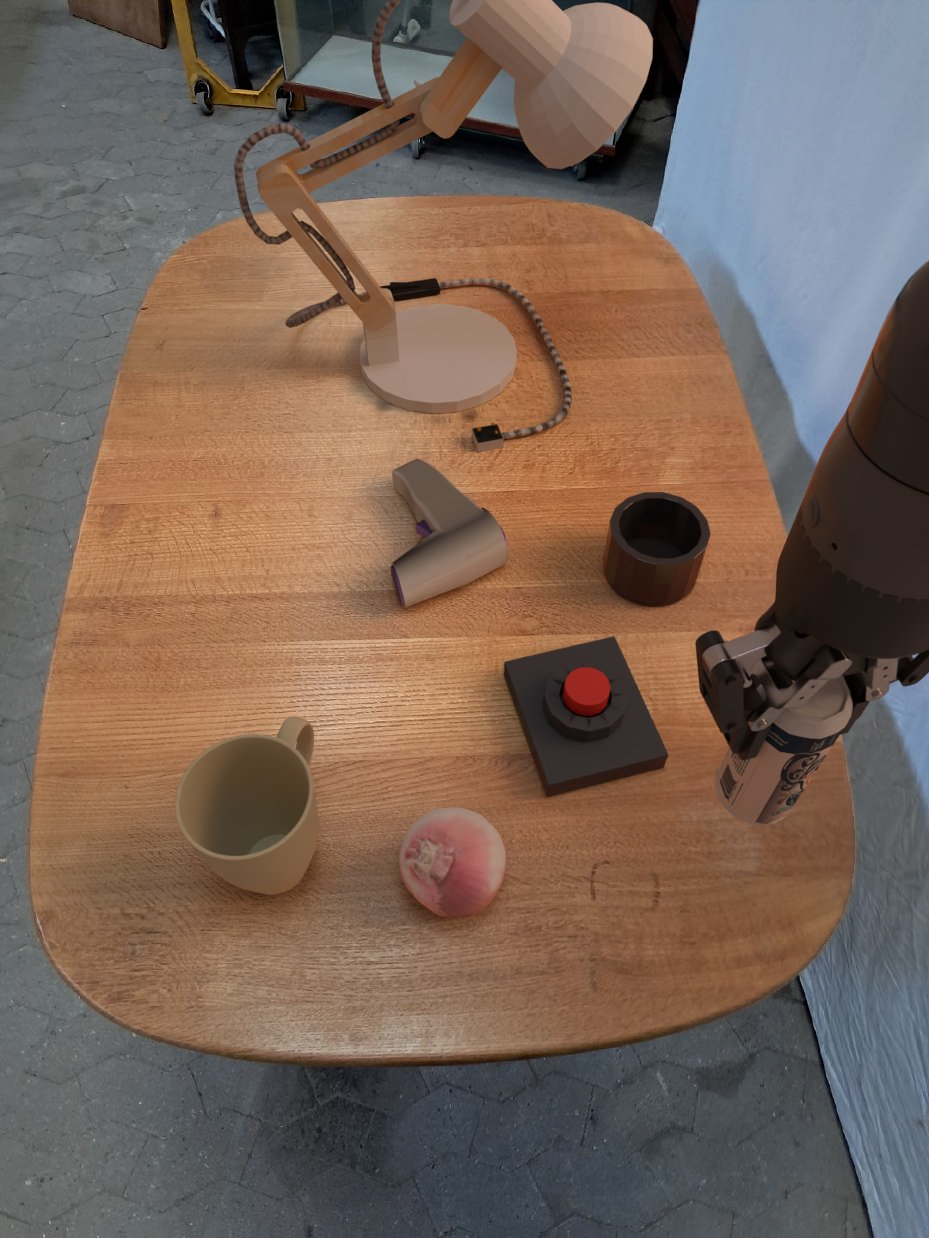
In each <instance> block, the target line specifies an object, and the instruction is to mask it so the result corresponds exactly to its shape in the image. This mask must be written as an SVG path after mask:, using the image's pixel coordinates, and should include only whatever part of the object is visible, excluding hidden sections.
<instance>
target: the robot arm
mask: <svg viewBox="0 0 929 1238" xmlns="http://www.w3.org/2000/svg"><path fill="white" fill-rule="evenodd" d="M694 644H695V654H696V664H697V665H696V667H697V675H698V686H699V687H698V688H699V693H700V694H701V697H702V698H703V701H704V702H705V704H706V706H707V708H708V710H709V712H710V714H711V716H712V718H713V720H714V722H715V724H716V726H717V728H718V730H719V732H720V733H721V734H722V735H723V738H724V740H725V741H726V743H727V745H728V747H729V748H730V749H731V751H732V753H733V754H738V756H739V757H740V759H741V760H743V761H744V760H747V759H751V758H755V757H756V756H757V755H758V753H759V751H760V749H761V747H762V745H763V743H764V741H765V739H766V737H767V735H768V733H769V731H770V729H771V727H772V725H771V724H772V723H773V722H774V721H775V720H776V719H777V718H778V717H779V716H780V715H781V714H782V713H783V712H784V711H785V710H786V709H799V708H801V707H802V706H803V705H804V704H805V703H806V702H807V701H808V700H809V699H810V698H811V697H812V696H814V695H815V694H816V693H817V692H818V691H819V690H820V689H821V688H822V687H823V686H824V685H825V684H826V683H827V682H828V681H829V680H830V679H837V678H839V677H840V676H842V675H843V677H844V679H845V682H846V684H847V686H848V688H849V691H850V695H851V698H852V704H853V708H852V714H851V717H850V719H849V721H848V723H847V725H846V726H845V727H844V729H843V730H842V732H841V733H840V735H839V736H841V735H845V734H848V733H849V732H850V730H851V729H852V727H853V726H854V724H855V722H856V721H857V720H858V719H859V718H861V716H862V714H863V713H864V712H865V710H866V709H867V707H868V706H869V704H870V702H873V701H874V702H875V701H876V700H879V699H881V698H883V697H884V696H885V695H887V694H888V692H889V691H890V685H891V684H893V683H895V682H897V681H898V682H899V683H900V685H901V686H903V687H904V688H905V687H910V686H913V685H916V684H918V683H919V682H920V681H922V680H923V679H924V678H925V677H926V676H927V675H928V674H929V259H928V260H927V261H926V262H923V264H921V265H920V266H919V267H918V268H917V269H916V270H915V271H914V272H913V273H912V274H911V275H910V276H909V278H908V279H907V280H906V281H905V282H904V284H903V286H901V289H900V291H899V292H898V294H897V296H896V297H895V300H894V301H893V302H892V304H891V306H890V308H889V310H888V312H887V314H886V316H885V318H884V320H883V322H882V325H881V327H880V329H879V331H878V335H877V336H876V339H875V341H874V344H873V346H872V348H871V351H870V354H869V356H868V359H867V361H866V363H865V365H864V368H863V370H862V373H861V376H860V378H859V380H858V382H857V385H856V387H855V390H854V392H853V395H852V397H851V400H850V402H849V403H848V406H847V407H846V409H845V412H844V414H843V415H842V417H841V418H840V420H839V421H838V422H837V424H836V426H835V427H834V429H833V431H832V433H831V434H830V436H829V438H828V440H827V441H826V443H825V445H824V448H823V450H822V452H821V454H820V456H819V458H818V461H817V463H816V465H815V469H814V471H813V473H812V476H811V479H810V480H809V483H808V486H807V488H806V491H805V493H804V496H803V498H802V500H801V504H800V506H799V508H798V510H797V513H796V515H795V517H794V520H793V522H792V524H791V527H790V530H789V532H788V535H787V537H786V540H785V542H784V545H783V546H782V549H781V552H780V555H779V557H778V561H777V565H776V575H775V597H774V601H773V603H772V604H771V606H770V607H769V608H768V609H767V610H766V611H765V612H764V613H763V614H761V616H760V617H759V618H758V619H757V621H756V623H755V627H754V631H752V632H749V633H746V634H744V635H741V636H739V637H736V638H733V639H731V640H725V639H724V638H723V636H722V634H721V632H720V631H718V630H716V629H715V630H709V631H705V632H704V633H702V634H700V635H699V636H698V637H697V638H696V640H695V642H694ZM913 656H915V657H913ZM792 680H793V681H795V682H794V683H793V681H792ZM761 684H762V686H763V688H764V690H765V691H766V695H767V697H766V700H765V701H763V699H762V697H761V696H760V694H759V692H758V690H757V688H758V687H759V686H760V685H761Z"/></svg>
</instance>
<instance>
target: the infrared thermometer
mask: <svg viewBox="0 0 929 1238" xmlns="http://www.w3.org/2000/svg"><path fill="white" fill-rule="evenodd" d="M391 477H392V485H393V490H394V491H395V492H396V493H398V494H399V495H401V496H402V497H403V498H404V500H405V501H406V503H407V504H408V506H409V508H410V510H411V512H412V514H413V516H414V518H415V520H416V521H417V523H416V524H415V533H416V535H418V536H421V537H422V538H423V539H422V540H420V541H419V542H418V543H416V544H415V545H414V546H413V547H411V548H410V549H408V550H407V551H406V552H405V553H403V554H402V555H401V556H399V557H397V558H396V559H395V560H394V561H393V562H392V564H391V565H390V572H391V579H392V582H393V586H394V590H395V593H396V597H397V600H398V603H399V605H400V607H402V608H408V607H411V606H413V605H416V604H418V603H420V602H424V601H426V600H429V599H432V598H434V597H437V596H439V595H442V594H445V593H447V592H450V591H452V590H456V589H457V588H461V587H463V586H467V585H469V584H470V583H472V582H474V581H476V580H478V579H479V578H482V577H483V576H485V575H487V574H489V573H491V572H493V571H495V570H497V569H499V568H500V567H502V566H504V565H505V564H506V563H507V562H508V558H509V546H508V540H507V536H506V534H505V532H504V529H503V528H502V526H501V524H500V523H499V522H498V521H497V519H496V518H495V517H494V515H493V514H492V513H491V512H490V511H489V510H488V509H486V508H485V507H480V506H478V504H476V503H475V502H474V501H473V499H471V498H470V497H469V496H467V495H466V494H465V493H463V492H462V491H461V490H459V489H458V488H457V487H456V486H455V484H453V483H452V481H450V480H449V478H447V477H446V476H445V475H444V473H442V472H441V471H440V470H439V469H438V468H436V467H435V466H433V465H431V464H430V463H429V462H426V461H425V460H423V459H420V458H416V459H413V460H411V461H409V462H406V463H404V464H402V465H400V466H398V467H396V468H393V470H391Z"/></svg>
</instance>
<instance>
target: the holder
mask: <svg viewBox="0 0 929 1238" xmlns="http://www.w3.org/2000/svg"><path fill="white" fill-rule="evenodd" d="M710 538H711V529H710V525H709V521H708V519H707V518H706V516H705V515H704V514H703V512H702V511H701V510H700V508H699V507H698V506H697V505H695V504H693V503H692V502H690V501H689V500H687V499H686V498H684V497H683V496H679V495H676V494H672V493H668V492H665V491H643V492H641V493H637V494H633V495H631V496H628V497H626V498H625V499H624V500H622V501H621V502H620V503H619V504H617V506H615V507H614V509H613V512H612V514H611V517H610V519H609V523H608V529H607V534H606V539H605V545H604V551H603V556H602V572H603V576H604V578H605V581H606V583H607V584H608V586H609V587H610V588H611V589H612V591H613V592H615V593H616V594H617V595H618V596H620V598H623V599H624V600H625V601H628V602H630V603H633V604H636V605H638V606H644V607H650V608H651V607H653V608H658V607H659V608H660V607H665V606H667V607H668V606H670V605H673V604H676V603H679V602H680V601H682V600H683V599H685V598H686V597H688V595H689V594H690V593H691V592H692V591H693V589H694V588H695V586H696V583H697V579H698V576H699V574H700V573H699V572H700V570H701V567H702V565H703V564H702V563H703V561H704V557H705V555H706V551H707V548H708V545H709V542H710Z"/></svg>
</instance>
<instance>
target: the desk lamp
mask: <svg viewBox="0 0 929 1238" xmlns="http://www.w3.org/2000/svg"><path fill="white" fill-rule="evenodd" d="M401 1H402V0H387V1H386V2H385V3H384V5H383V7H382V9H381V11H380V13H379V16H378V17H377V19H376V22H375V25H374V29H373V34H372V38H371V62H372V63H371V64H372V70H373V76H374V79H375V83H376V87H377V89H378V92H379V95H380V97H381V101H382V102H383V103H382V104H380V105H378V106H377V107H374V108H372V109H370V110H368V111H366V112H365V113H363V114H361V115H358V116H357V117H355V118H352V119H351V120H348V121H346V122H345V123H343V124H341V125H339V126H337V127H335V128H333V129H331V130H329V131H326V132H325V133H323V134H321V135H319V136H317V137H315V138H313V139H312V140H309V141H307V139H306V138H305V136H304V135H303V133H302V132H301V131H300V130H299V129H298V128H296V127H294V126H291V125H290V124H288V123H279V124H268V125H266V126H265V127H263V128H261V129H259V130H257V131H256V132H253V133H252V134H250V136H249V137H248V138H247V139H246V140H245V141H244V142H243V143H242V144H241V145H240V146H239V148H238V149H237V154H236V156H235V159H234V163H233V173H234V181H235V186H236V192H237V195H238V196H237V197H238V201H239V204H240V205H239V206H240V209H241V212H242V214H243V217H244V219H245V222H246V224H247V225H248V226H249V228H250V229H251V231H252V232H253V234H254V235H255V236H256V237H257V238H258V239H260V240H261V241H263V242H264V243H265V244H267V245H281V244H283V243H285V242H287V241H289V240H291V239H292V238H293V239H294V240H295V242H296V243H297V244H298V245H299V247H300V248H301V249H302V250H303V252H304V253H305V254H306V255H307V256H308V257H309V259H310V260H311V261H312V263H313V264H314V265H315V266H316V267H317V269H318V270H319V271H320V272H321V274H322V275H323V276H324V277H325V278H326V280H327V281H328V282H329V283H330V285H331V286H332V287H333V288H334V289H335V290H336V293H335V294H333V295H332V296H331V297H329V298H328V299H326V300H324V301H321V302H317V303H314V304H312V305H308V306H307V307H304V308H302V309H300V310H298V311H296V312H294V313H292V314H291V315H289V317H288V318H287V319H286V320H285V323H284V324H285V326H286V327H287V328H289V329H291V328H297V327H299V326H301V325H303V324H305V323H307V322H308V321H310V320H312V319H314V318H315V317H317V316H319V315H321V314H322V313H323V312H325V311H327V310H329V309H331V307H335V306H340V305H345V304H346V305H348V307H349V308H350V309H351V310H352V312H353V313H354V315H356V316H357V317H358V319H359V320H360V321H361V322H362V328H363V337H364V338H363V341H362V342H361V344H360V347H359V363H360V364H359V365H360V373H361V376H362V378H363V380H364V381H365V383H366V384H367V386H368V388H369V390H371V391H372V392H373V393H374V394H376V395H377V396H378V397H379V398H381V400H383V401H384V402H386V403H389V404H391V405H393V406H396V407H399V408H401V409H403V410H406V411H411V412H419V413H424V414H425V413H426V414H448V413H458V412H463V411H466V410H469V409H473V408H476V407H480V406H482V405H484V404H485V403H487V402H489V401H490V400H492V399H494V398H495V397H497V396H499V395H501V393H502V392H503V391H504V390H505V388H507V386H508V385H509V384H510V383H511V382H512V381H513V379H514V375H515V371H516V368H517V366H518V350H517V346H516V340H515V337H514V336H513V334H512V333H511V331H510V330H509V328H507V326H506V325H505V324H504V323H502V322H501V321H500V320H498V319H496V318H495V317H493V316H492V315H490V314H489V313H486V312H485V311H481V310H478V309H475V308H472V307H470V306H465V305H457V304H450V303H434V304H433V303H432V304H420V305H417V306H413V307H408V308H405V309H401V310H397V311H396V302H397V301H405V300H410V299H416V298H417V299H418V298H422V297H423V298H424V297H429V296H435V295H440V294H441V289H442V290H443V289H448V288H455V287H463V286H464V287H465V286H472V285H474V286H475V285H476V286H478V285H479V286H492V287H495V288H499V289H501V290H505V291H507V292H508V293H509V294H511V295H512V296H514V297H515V298H516V299H518V300H519V301H520V303H521V304H522V305H523V306H524V307H525V309H527V311H528V313H529V314H530V316H531V317H532V320H533V321H534V323H535V324H536V326H537V328H538V330H539V332H540V335H541V336H542V339H543V340H544V342H545V345H546V346H547V348H548V350H549V353H550V354H551V357H552V359H553V361H554V363H555V366H556V368H557V370H558V372H559V377H560V378H561V382H562V384H563V393H564V401H563V404H562V406H561V410H560V411H559V412H558V413H557V414H555V416H554V417H552V418H551V419H549V420H547V421H545V422H542V423H539V424H537V425H533V426H529V427H525V428H520V429H515V430H508V431H503V432H501V429H500V426H499V425H498V423H495V422H491V424H490V425H484V426H477V427H473V428H471V437H472V438H471V439H472V441H473V443H474V446H475V449H476V452H477V453H481V452H487V451H493V450H498V449H503V448H504V441H505V440H509V439H515V438H519V437H524V436H530V435H534V434H537V433H540V432H542V431H545V430H548V429H551V428H553V427H555V426H556V425H558V423H560V422H561V421H562V420H563V419H564V418H565V417H566V416H567V415H568V413H569V411H570V407H571V403H572V386H571V382H570V380H569V376H568V372H567V370H566V367H565V365H564V363H563V361H562V358H561V356H560V354H559V352H558V350H557V348H556V346H555V344H554V342H553V340H552V337H551V335H550V334H549V331H548V330H547V328H546V326H545V324H544V322H543V320H542V318H541V317H540V315H539V313H538V312H537V310H536V308H535V307H534V305H533V304H532V303H531V302H530V301H529V299H527V297H526V296H525V295H524V294H523V293H522V292H521V291H519V290H518V289H516V288H515V287H514V286H512V285H510V284H509V283H506V282H503V281H501V280H497V279H493V278H483V277H481V278H478V277H470V278H462V279H453V280H446V281H438V278H437V277H432V278H426V279H420V280H413V281H412V280H411V281H390V282H389V284H386V285H379V283H378V282H377V281H376V280H375V278H374V277H373V276H372V274H371V273H370V271H368V269H367V268H366V266H365V265H364V264H363V262H362V261H361V260H360V258H359V257H358V256H357V255H356V253H355V252H354V250H353V249H352V248H351V247H350V245H349V244H348V243H347V242H346V240H345V239H344V238H343V236H342V235H341V233H340V232H339V231H338V229H336V226H334V225H333V223H332V222H331V220H330V219H329V218H328V217H327V215H326V214H325V213H324V211H323V209H321V208H320V206H319V205H318V203H317V202H316V200H315V199H314V198H313V196H312V195H311V193H313V192H314V191H316V190H318V189H321V188H323V187H324V186H327V185H328V184H330V183H332V182H335V181H336V180H339V179H340V178H343V177H344V176H346V175H349V174H351V173H353V172H354V171H357V170H359V169H361V168H362V167H365V166H367V165H368V164H371V163H373V162H374V161H377V160H379V159H381V158H383V157H385V156H386V155H389V154H390V153H393V152H394V151H397V150H399V149H400V148H403V147H405V146H407V145H408V144H410V143H412V142H415V141H416V140H417V141H418V140H419V139H421V138H423V137H424V136H427V135H429V134H431V133H432V132H433V133H435V134H436V135H437V136H438V137H440V138H442V139H445V140H446V139H449V138H451V137H453V136H454V135H455V133H456V132H457V131H458V129H459V128H460V126H462V124H463V122H464V121H465V120H466V118H467V117H468V115H469V114H470V113H471V111H472V110H473V109H474V107H475V106H476V105H477V103H478V102H479V101H480V99H481V98H482V96H483V95H484V94H485V93H486V91H487V90H488V88H489V87H490V86H491V84H492V83H493V82H494V81H495V79H496V78H497V76H498V75H499V73H500V72H501V71H502V70H503V71H504V72H506V74H508V75H509V76H510V77H511V78H512V79H513V80H514V84H513V85H514V86H513V97H512V98H513V100H512V101H513V111H514V115H515V119H516V123H517V127H518V130H519V133H520V136H521V139H522V140H523V142H524V144H525V146H526V147H527V148H528V151H530V153H531V154H532V155H533V156H534V158H536V159H537V160H538V161H539V162H540V163H542V164H543V166H545V167H546V169H557V170H563V169H565V168H568V167H571V166H574V165H578V164H579V163H581V162H582V161H584V160H585V159H587V158H588V157H590V156H591V155H592V154H594V153H596V152H598V151H599V149H600V148H601V147H602V146H603V145H605V143H606V142H607V141H608V140H609V139H610V138H611V137H612V136H613V135H614V134H615V133H616V132H617V131H618V129H619V128H620V127H621V126H622V124H623V122H624V121H625V120H626V118H627V117H628V115H629V114H630V113H631V111H632V110H633V109H634V107H635V105H636V104H637V101H638V98H639V97H640V94H641V93H642V91H643V88H645V86H646V85H645V84H646V82H647V80H648V76H649V72H650V69H651V68H650V67H651V65H652V61H653V52H654V51H653V49H654V45H653V44H654V38H653V36H652V34H651V31H650V29H649V27H648V25H647V24H646V23H645V22H644V21H643V20H642V19H641V18H640V17H639V16H637V15H635V14H633V13H631V12H630V11H628V10H626V9H624V8H622V7H620V6H618V5H615V4H612V3H609V2H590V3H582V4H577V5H574V6H571V7H569V8H566V9H564V10H562V9H561V7H560V6H558V5H557V4H556V3H555V2H554V1H553V0H452V1H451V5H450V7H449V14H448V15H449V16H448V17H449V22H450V24H451V25H452V26H453V27H454V28H456V29H457V30H458V31H459V32H460V33H461V34H462V35H463V36H465V37H466V38H465V40H463V43H462V44H461V45H460V47H459V49H458V50H457V51H456V53H455V54H454V55H453V57H452V58H451V60H450V61H449V63H448V64H447V65H446V67H445V68H444V70H443V71H442V73H441V74H440V76H437V77H433V78H432V79H429V80H426V81H425V82H423V83H420V82H419V81H417V80H416V79H413V84H414V86H415V87H414V88H412V89H410V90H408V91H406V92H403V93H402V94H400V95H398V96H396V97H394V98H393V99H392V97H391V95H390V92H389V89H388V87H387V83H386V80H385V77H384V73H383V69H382V59H381V51H382V50H381V49H382V39H383V35H384V31H385V28H386V24H387V22H388V21H389V18H390V16H391V14H392V12H393V11H394V10H395V9H396V7H397V6H398V5H399V3H400V2H401ZM410 114H414V116H413V118H411V119H409V120H407V121H405V122H403V123H401V121H400V120H401V119H402V118H404V117H406V116H408V115H410ZM400 123H401V124H400ZM381 129H382V130H381ZM379 130H380V131H379ZM377 131H379V132H377ZM376 132H377V133H376ZM373 133H375V134H373ZM278 134H287V135H288V136H291V137H292V138H294V139H295V141H296V143H297V144H298V146H297V147H295V148H293V149H291V150H290V151H288V152H285V153H284V154H282V155H280V156H277V157H276V158H274V159H271V160H270V161H268V162H266V163H264V164H262V165H260V166H259V167H256V172H255V176H256V180H257V182H256V183H257V184H256V186H257V190H258V194H259V197H260V199H261V200H262V201H263V203H264V204H265V205H266V206H267V207H268V209H269V210H270V212H271V213H272V214H273V215H274V216H275V217H276V219H278V221H279V222H280V223H281V225H282V226H283V227H284V228H285V229H286V230H285V231H284V232H282V233H280V234H279V235H277V236H274V235H273V236H272V235H269V234H267V233H266V232H265V231H263V230H262V229H261V228H260V226H259V224H258V223H257V221H256V220H255V217H254V215H253V213H252V210H251V208H250V204H249V200H248V196H247V191H246V184H245V180H244V170H243V169H244V168H243V164H244V162H245V159H246V156H247V154H248V153H249V152H250V151H251V150H252V149H253V148H254V147H255V145H256V144H258V143H259V142H260V141H262V140H263V141H264V139H266V138H268V137H270V136H272V135H278ZM371 134H373V135H371ZM369 135H371V136H369ZM367 136H369V137H368V138H365V137H367ZM363 138H365V139H364V140H362V141H360V142H358V143H356V144H353V143H354V142H357V141H359V140H361V139H363ZM351 144H353V145H351ZM349 145H351V146H349ZM347 146H349V147H347ZM345 147H347V148H345ZM343 148H344V149H343ZM341 149H342V150H341ZM339 150H340V151H339ZM337 151H338V152H337ZM335 152H336V153H335ZM307 166H310V167H311V169H310V170H308V171H306V172H303V173H302V174H301V173H298V171H299V170H301V169H303V168H305V167H307ZM297 209H298V210H302V211H303V212H304V214H305V215H306V216H307V218H308V219H309V220H310V221H311V222H312V224H313V225H314V227H315V228H314V227H313V225H311V224H309V223H308V222H305V221H303V220H299V219H298V218H297V216H296V215H295V214H294V211H296V210H297ZM313 237H314V238H313ZM315 240H316V241H315ZM317 242H318V243H319V244H318V243H317ZM320 246H321V247H322V248H323V249H322V248H321V247H320ZM324 250H325V251H326V253H327V254H328V255H329V257H330V258H331V259H332V260H333V262H334V263H335V264H334V263H333V262H332V260H331V259H330V258H329V257H328V255H327V254H326V253H325V252H324ZM336 266H337V267H338V268H339V269H338V268H337V267H336ZM340 271H341V272H340ZM352 275H353V276H354V278H355V279H356V280H357V281H358V283H359V284H360V285H361V287H362V288H363V289H364V291H363V292H362V293H361V294H358V293H357V292H356V286H355V281H354V278H353V276H352Z"/></svg>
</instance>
